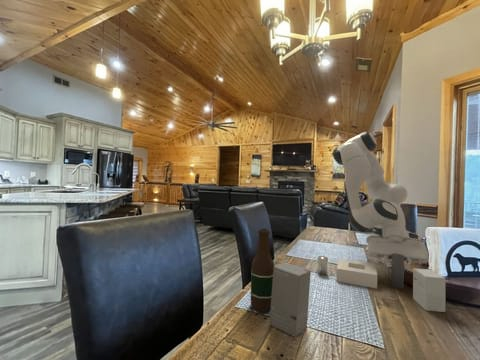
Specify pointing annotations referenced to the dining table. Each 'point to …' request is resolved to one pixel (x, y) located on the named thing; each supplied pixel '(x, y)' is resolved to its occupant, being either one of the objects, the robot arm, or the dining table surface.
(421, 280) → the small box
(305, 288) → the skincare box
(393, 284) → the dark gray tall block
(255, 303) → the beer bottle
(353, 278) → the socket block
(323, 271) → the short pin
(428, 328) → the dining table surface
